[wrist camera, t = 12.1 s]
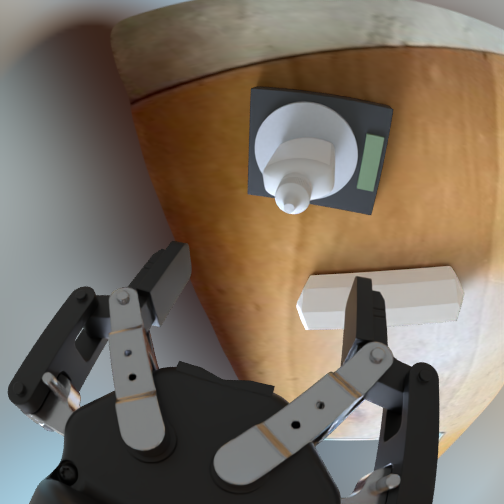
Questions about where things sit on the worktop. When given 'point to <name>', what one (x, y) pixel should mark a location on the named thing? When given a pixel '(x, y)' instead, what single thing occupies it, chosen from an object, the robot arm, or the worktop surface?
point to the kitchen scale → (327, 128)
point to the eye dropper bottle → (300, 173)
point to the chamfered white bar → (394, 293)
